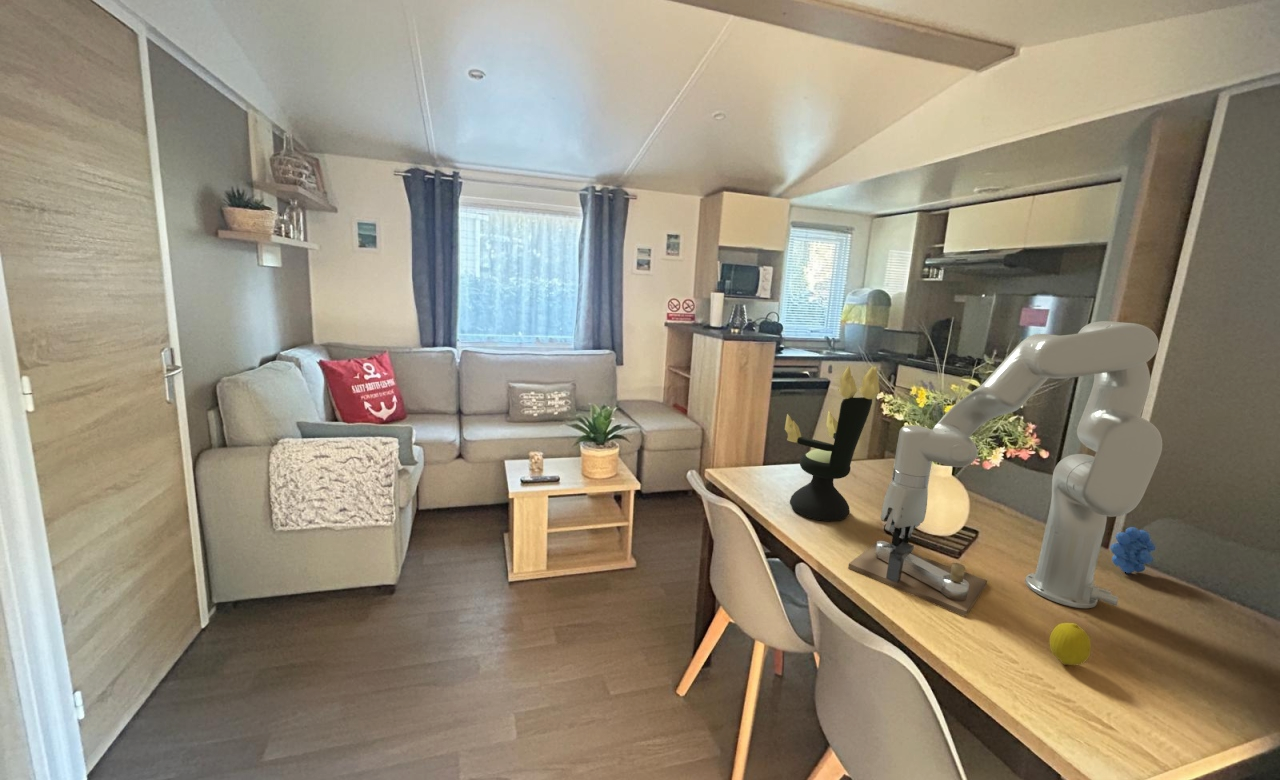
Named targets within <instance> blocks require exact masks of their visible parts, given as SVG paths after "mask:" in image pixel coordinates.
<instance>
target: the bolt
mask: <svg viewBox="0 0 1280 780" xmlns="http://www.w3.org/2000/svg"><path fill="white" fill-rule="evenodd" d="M877 541H878V542H877ZM877 541H876V542H877V544H876V550H875V556H876V557H878V558H880V559H882V560H883V561H885V562H887V563H889V556H890V552H891V551H893V550H894V549H895V548H896V546H894V545H892V543H890V542H887V541H884V540H877ZM902 571H904V572H906V573H907V574H909V575H911V576H913V577H915V578H917V579H919V580H920V581H922V582H924V583H926V584H928V585H930V586H931V587H933V588H935V589H937V590H939V591H941V592H942V593H943V594H944V595H945V596H947V597H949V598H952V599H955V600H966V599H967V594H968V589H969V583H968V582H967V581H966V580H965V579H963V582H956V581H953V580H952V579H950V573H948V572H946V571H944V570H942V569H940V568H938V567H936V566H934V565H932V564H930V563H928V562H926V561H924V560H922V559H920V558H918V557H916V556H914V555H912V554H909V555H908V556H907V557H906V558H905V559H904V562H903V568H902Z"/></svg>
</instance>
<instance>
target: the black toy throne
mask: <svg viewBox="0 0 1280 780" xmlns="http://www.w3.org/2000/svg"><path fill="white" fill-rule="evenodd" d="M877 368H878V367H877V366H874V365H872V366H871V368H869V369H868V371H867V372H866V373H865V375H864V376H863V377H862V379H861V380H862V381H861V383H862V386H861V387H859V388H857V385H856V382H855V379H854V377H853V375H852V372H851V368H850V365H847V367H846V369H845V370H844V372H843V373H842V375H841V376H840V378H839V381H840V382H839V383H840V387H839V388H838V389H837V390H838V391H839V394H840V395H841V396H842V397H843V399H842V401H841V403H840V408H839V415H838V418H837V419H838V420H837V419H836V418H835V417H834V416H833V415H832V414H831V412H830V410H828V412H827V417H826V422H825V423H826V424H825V425H826V428H827V430H828V436H829V437H830V438H832V439H834V441H833V444H832V443H830V442H825V441H821V440H817V439H813V438H809V437H805V436H802V434H801V430H800V427H799V425H798V424H797V423H796V422H795V420H792V418H791V416H790V415H789V414H788V413H787V414H786V420H785V425H784V430H785V432H786V434H787V438H786V441H788V442H792V443H797V444H798V445H801V446H805V447H809V448H813V449H811V450H809V451H808V452H806V453H804V454H803V455H802V456H801V457H800V459H799V465H800V468H801V469H802V470H803V472H805V473H807V474H808V475H811V476H812V477H811V480H810V482H809V483H807V484H806V485H803V486H802V487H800V488H798V489H797V490H796V491H794V493H793V494H792V495H791V496H790V499H789V504H790V507H791V508H792V510H794V511H795V512H796V513H798V514H800V515H801V516H803V517H806V518H809V519H813V520H817V521H820V522H821V521H824V522H839V521H843V520H844V519H846V518H847V517H848V516H849V515H850V512H851V511H850V505H849V503H848V501H847V500H846V498H845V497H844V496H843V494H841V493H840V492H839V490H838V489H837V488H836V487H835V484H834V480H838V479H843V478H846V477H847V476H848V475H849V474H850V472H851V464H852V461H853V457H854V454H855V450H856V448H857V445H858V442H859V440H860V438H861V435H862V433H863V429H864V427H865V424H866V422H867V419H868V416H869V415H870V411H871V407H872V404H873V400H874V399H875V398H876V397H877V395H878V394H879V393H880V385H879V375H877V373H878V369H877ZM858 391H859V393H860V394H861V396H862V397H855V395H856V394H857V392H858Z"/></svg>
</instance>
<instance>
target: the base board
mask: <svg viewBox="0 0 1280 780" xmlns="http://www.w3.org/2000/svg"><path fill="white" fill-rule="evenodd" d="M878 541H879V540H877V541H876V542H875V543H873V544H872V545H871V546H870V547H868V548H867V549H866V550H864V551H863V552H862V553H860V554H859V555H857V557H855V558H854V559H853V560H851V561H849V563H848V569H849V570H852V571H854V572H857V573H859V574H861V575H864V576H866V577H869V578H871V579H872V580H873V579H874V580H876V581H878V582H881V583H883V584H886V585H887V586H889V587H892V588H896V589H898V590H900V591H902V592H903V593H904V592H905V593H907V594H909V595H912V596H914V597H917V598H919V599H922V600H924V601H926V602H928V603H931V604H934V605H936V606H939V607H941V608H943V609H946V610H948V611H950V612H953V613H954V614H957V615H960V616H962V617H964V618H965V617H967V615H968V614H969V612H970V611H971V610H972V607H973V606H974V604H975V603H976V601H978V598H980V595H981V594H982V593H983V591H984V589H985V588H986V587H987V584H988V579H985V578H983V577H980V576H977V575H975V574H974V575H973V574H971V573H968V572H967V571H966V566H965V565H963V564H962V563H957V562H953V563H952V564H951V566H949V565H947V564H944V563H942V562H938V561H935V560H933V559H930V558H928V557H925V556H922V555H920V554H916V553H914V552H911V553H910V554H912V555H914V556H916V557H918V558H920V559H922V560H924V561H926V562H928V563H930V564H932V565H934V566H936V567H938V568H940V569H942V570H944V571H946V572H948V573H950V579H952V580H953V581H956V582H963V579H965V580H966V581H967V582H968V583H969V589H968V594H967V599H966V600H955V599H952V598H949V597H947V596H945V595H944V594H943V593H942V592H941V591H939V590H937V589H935V588H933V587H931V586H930V585H928V584H926V583H924V582H922V581H920V580H919V579H917V578H915V577H913V576H911V575H909V574H907V573H906V572H904V571H902V574H901V580H900V581H899V582H898V583H896V582H894V581H891V580H889V579H886V575H887V569H888V563H887V562H885V561H883V560H882V559H880V558H878V557H876V556H875V550H876V544H877V542H878Z"/></svg>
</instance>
